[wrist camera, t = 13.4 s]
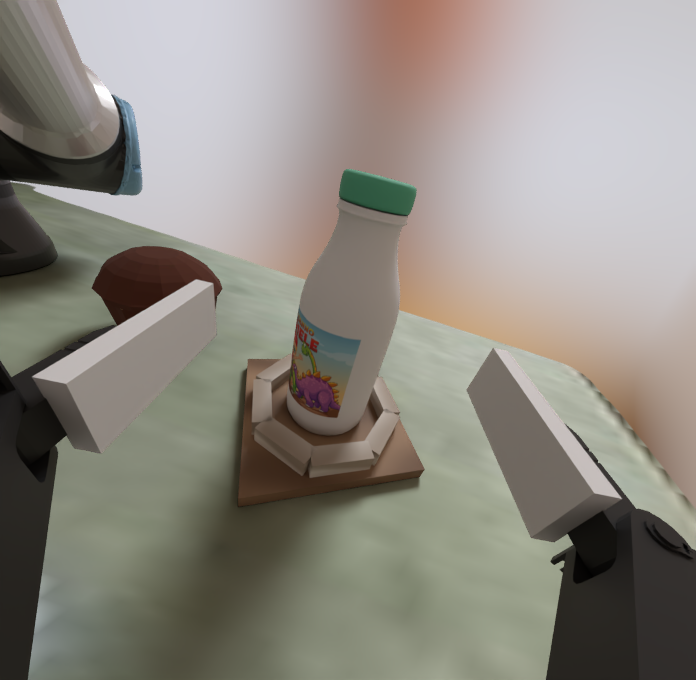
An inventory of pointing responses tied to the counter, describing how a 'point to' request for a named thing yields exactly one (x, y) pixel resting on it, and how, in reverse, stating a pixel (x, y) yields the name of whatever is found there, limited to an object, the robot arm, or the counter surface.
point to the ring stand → (315, 443)
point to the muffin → (147, 279)
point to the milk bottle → (349, 306)
